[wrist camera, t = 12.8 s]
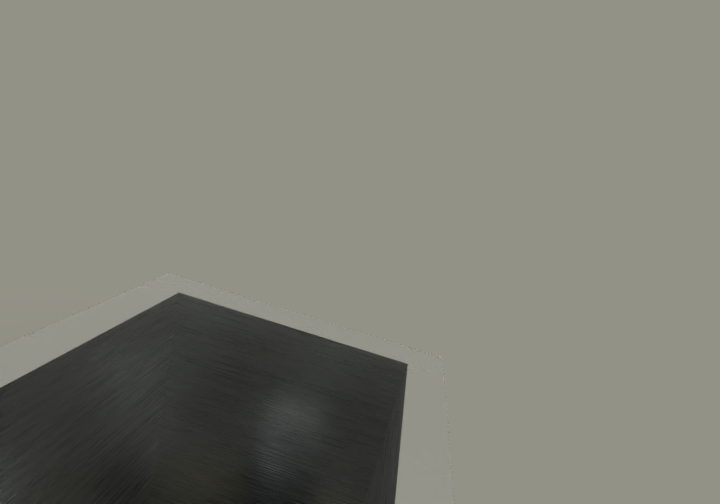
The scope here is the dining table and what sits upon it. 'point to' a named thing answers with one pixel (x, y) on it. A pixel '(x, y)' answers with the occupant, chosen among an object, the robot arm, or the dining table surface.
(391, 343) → the sleeve
